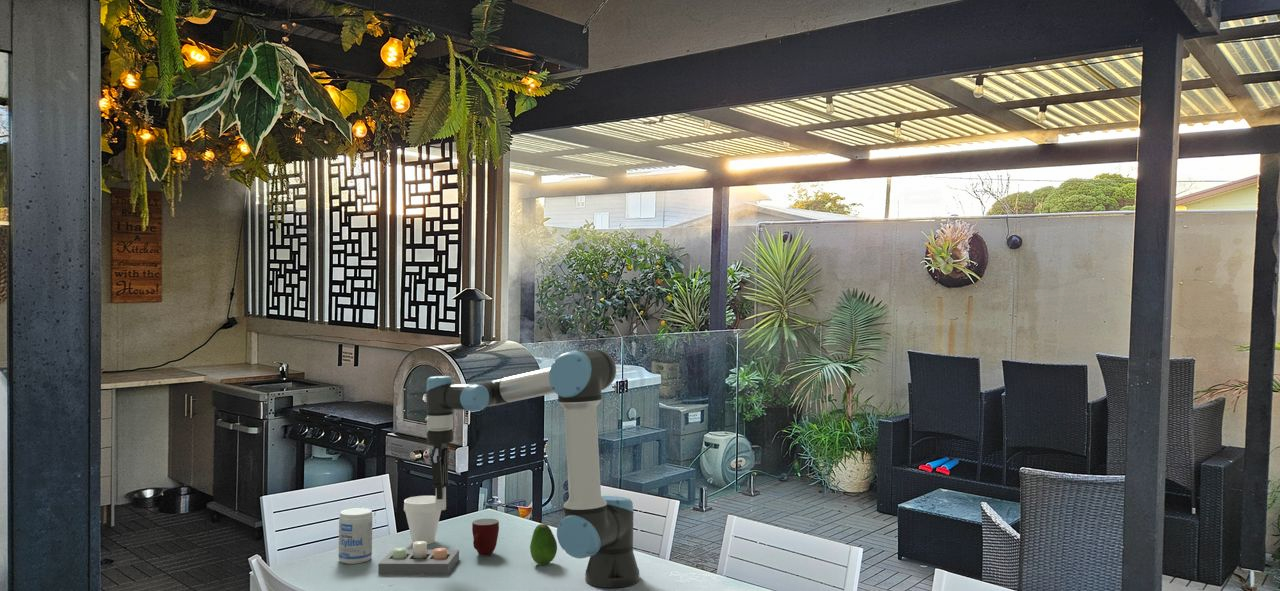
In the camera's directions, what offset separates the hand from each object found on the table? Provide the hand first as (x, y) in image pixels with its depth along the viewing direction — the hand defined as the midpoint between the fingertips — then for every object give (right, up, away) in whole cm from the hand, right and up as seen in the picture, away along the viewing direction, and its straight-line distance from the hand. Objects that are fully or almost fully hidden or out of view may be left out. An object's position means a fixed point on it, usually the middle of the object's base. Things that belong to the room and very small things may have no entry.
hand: (440, 509), depth 255 cm
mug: (+11, -17, +11) cm, 23 cm away
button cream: (-6, -14, 0) cm, 15 cm away
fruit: (+30, -17, +2) cm, 35 cm away
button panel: (-6, -17, 0) cm, 18 cm away
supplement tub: (-27, -17, +7) cm, 33 cm away
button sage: (-12, -16, 0) cm, 20 cm away
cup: (-12, -17, +27) cm, 34 cm away
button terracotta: (0, -16, 0) cm, 16 cm away
